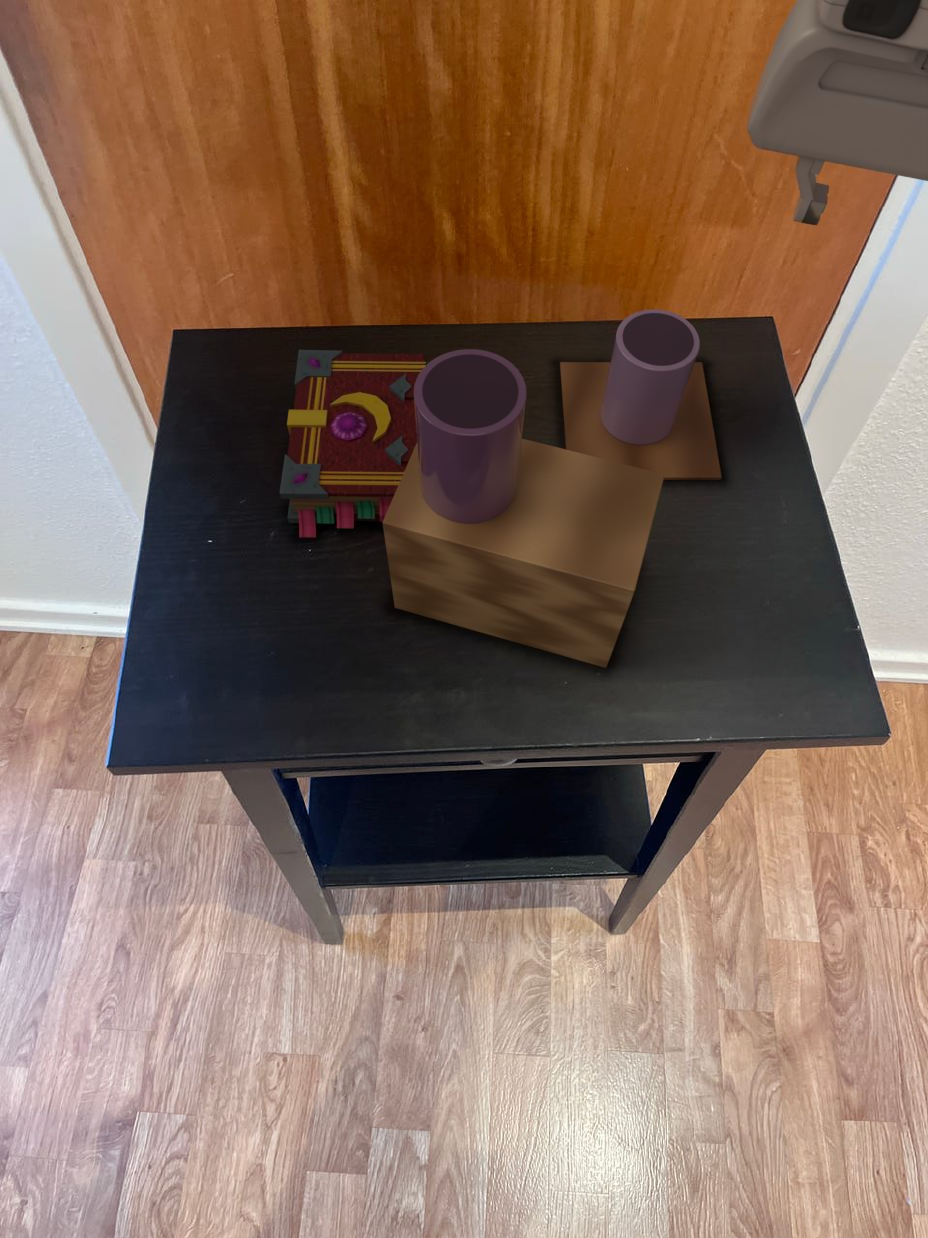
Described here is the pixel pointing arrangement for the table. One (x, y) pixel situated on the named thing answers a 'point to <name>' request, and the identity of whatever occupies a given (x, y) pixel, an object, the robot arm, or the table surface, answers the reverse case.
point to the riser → (530, 554)
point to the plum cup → (469, 434)
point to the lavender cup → (648, 375)
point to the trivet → (674, 455)
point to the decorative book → (348, 436)
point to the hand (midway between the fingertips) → (881, 232)
